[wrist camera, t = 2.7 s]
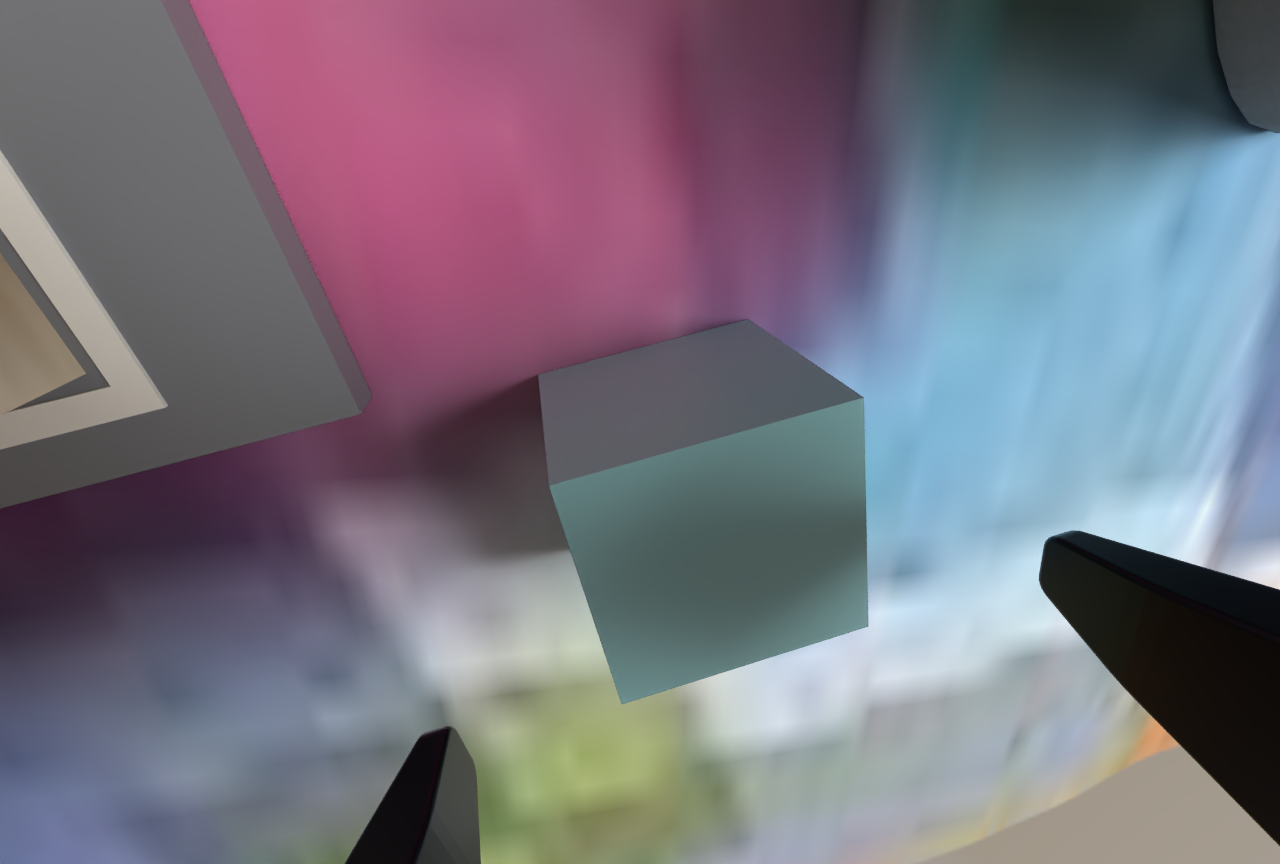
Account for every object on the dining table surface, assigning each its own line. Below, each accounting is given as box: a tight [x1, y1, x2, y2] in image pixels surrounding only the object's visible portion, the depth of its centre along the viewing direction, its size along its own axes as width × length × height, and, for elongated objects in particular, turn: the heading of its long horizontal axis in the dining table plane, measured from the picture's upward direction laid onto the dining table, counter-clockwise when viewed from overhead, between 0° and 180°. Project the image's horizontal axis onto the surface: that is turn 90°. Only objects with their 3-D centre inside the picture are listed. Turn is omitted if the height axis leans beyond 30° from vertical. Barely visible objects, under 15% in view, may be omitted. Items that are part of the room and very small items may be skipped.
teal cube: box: [538, 319, 868, 704], centre depth 12 cm, size 5×5×5 cm
